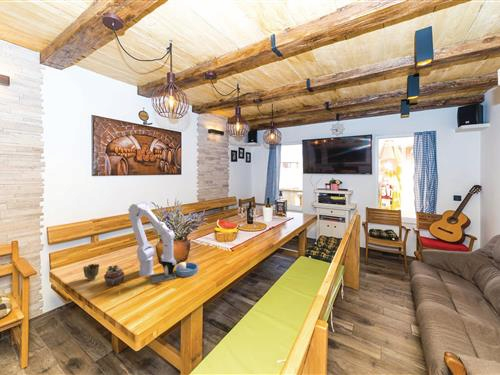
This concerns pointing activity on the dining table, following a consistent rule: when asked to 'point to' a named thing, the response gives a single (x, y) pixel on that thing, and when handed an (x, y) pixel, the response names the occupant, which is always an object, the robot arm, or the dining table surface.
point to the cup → (91, 271)
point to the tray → (161, 277)
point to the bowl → (187, 270)
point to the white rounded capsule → (182, 266)
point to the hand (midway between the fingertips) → (168, 272)
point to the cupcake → (113, 276)
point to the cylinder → (167, 272)
